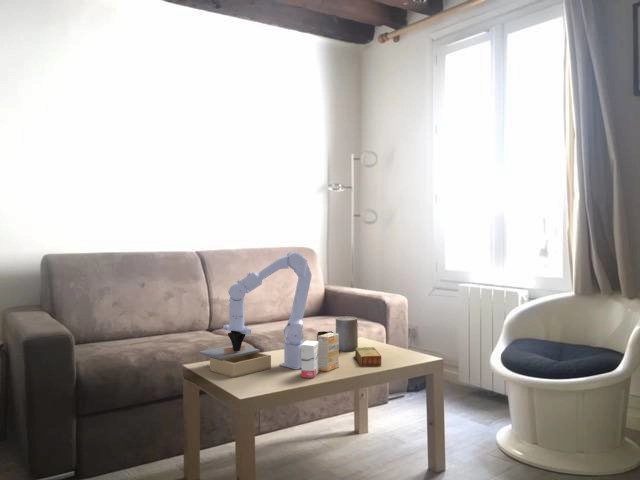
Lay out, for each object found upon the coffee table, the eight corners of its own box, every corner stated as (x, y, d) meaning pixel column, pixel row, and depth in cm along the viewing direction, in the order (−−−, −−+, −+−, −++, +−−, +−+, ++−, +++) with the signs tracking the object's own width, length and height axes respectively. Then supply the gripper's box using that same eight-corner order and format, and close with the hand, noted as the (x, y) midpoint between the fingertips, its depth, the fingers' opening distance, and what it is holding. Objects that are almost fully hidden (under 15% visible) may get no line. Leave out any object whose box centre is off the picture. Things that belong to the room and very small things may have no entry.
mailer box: (270, 368, 213) (270, 355, 213) (232, 377, 200) (232, 363, 200) (247, 362, 222) (247, 349, 222) (210, 370, 210) (210, 357, 209)
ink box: (314, 378, 199) (314, 345, 199) (300, 377, 200) (300, 344, 200) (318, 372, 208) (318, 340, 207) (306, 371, 209) (306, 339, 208)
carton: (360, 367, 217) (360, 356, 216) (354, 357, 233) (354, 347, 232) (381, 366, 217) (381, 355, 217) (374, 356, 233) (374, 346, 233)
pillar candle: (356, 346, 251) (356, 313, 251) (359, 351, 241) (358, 316, 241) (334, 346, 251) (334, 313, 250) (336, 351, 241) (336, 317, 240)
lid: (259, 351, 217) (259, 344, 217) (221, 360, 204) (221, 352, 204) (237, 346, 227) (237, 339, 227) (198, 353, 214) (198, 346, 214)
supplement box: (328, 372, 208) (328, 337, 207) (317, 370, 210) (317, 335, 210) (339, 367, 215) (339, 333, 214) (328, 365, 217) (328, 332, 217)
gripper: (216, 314, 214) (216, 349, 215) (240, 319, 204) (240, 356, 205) (231, 312, 219) (231, 346, 220) (255, 316, 209) (255, 352, 210)
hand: (236, 351), depth 213 cm, fingers closed
